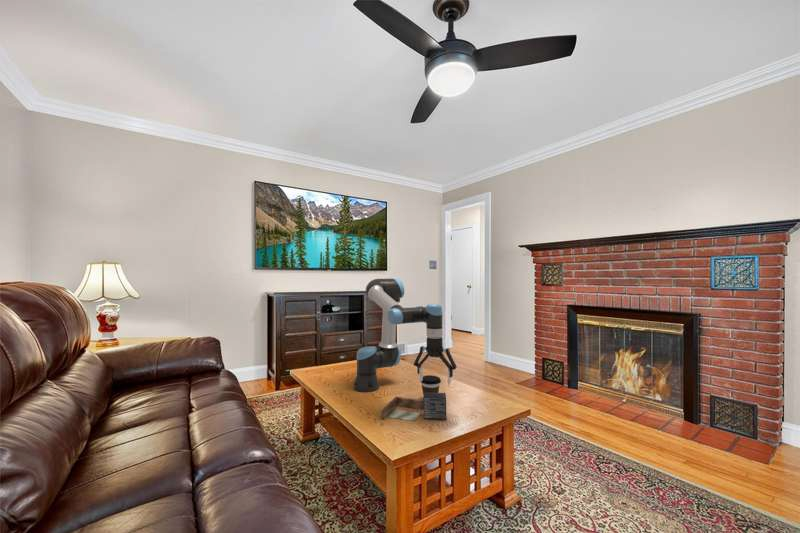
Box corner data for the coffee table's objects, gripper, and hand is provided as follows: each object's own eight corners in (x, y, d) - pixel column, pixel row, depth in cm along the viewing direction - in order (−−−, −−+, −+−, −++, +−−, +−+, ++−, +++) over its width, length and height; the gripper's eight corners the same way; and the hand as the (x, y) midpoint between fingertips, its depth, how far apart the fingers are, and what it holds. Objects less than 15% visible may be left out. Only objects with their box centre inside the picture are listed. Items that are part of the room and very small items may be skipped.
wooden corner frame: (381, 419, 152) (381, 410, 152) (395, 404, 170) (395, 396, 170) (417, 425, 146) (417, 415, 146) (428, 409, 164) (428, 400, 164)
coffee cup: (416, 399, 177) (416, 376, 177) (434, 396, 181) (434, 374, 181) (426, 406, 167) (426, 382, 167) (445, 403, 171) (444, 379, 171)
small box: (446, 414, 157) (446, 392, 158) (446, 420, 151) (446, 397, 151) (423, 413, 158) (423, 391, 159) (423, 419, 152) (423, 396, 152)
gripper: (406, 336, 156) (407, 382, 156) (459, 340, 148) (460, 387, 147) (411, 334, 164) (412, 377, 163) (462, 337, 155) (462, 382, 154)
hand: (434, 382), depth 155 cm, fingers open, 13 cm apart
